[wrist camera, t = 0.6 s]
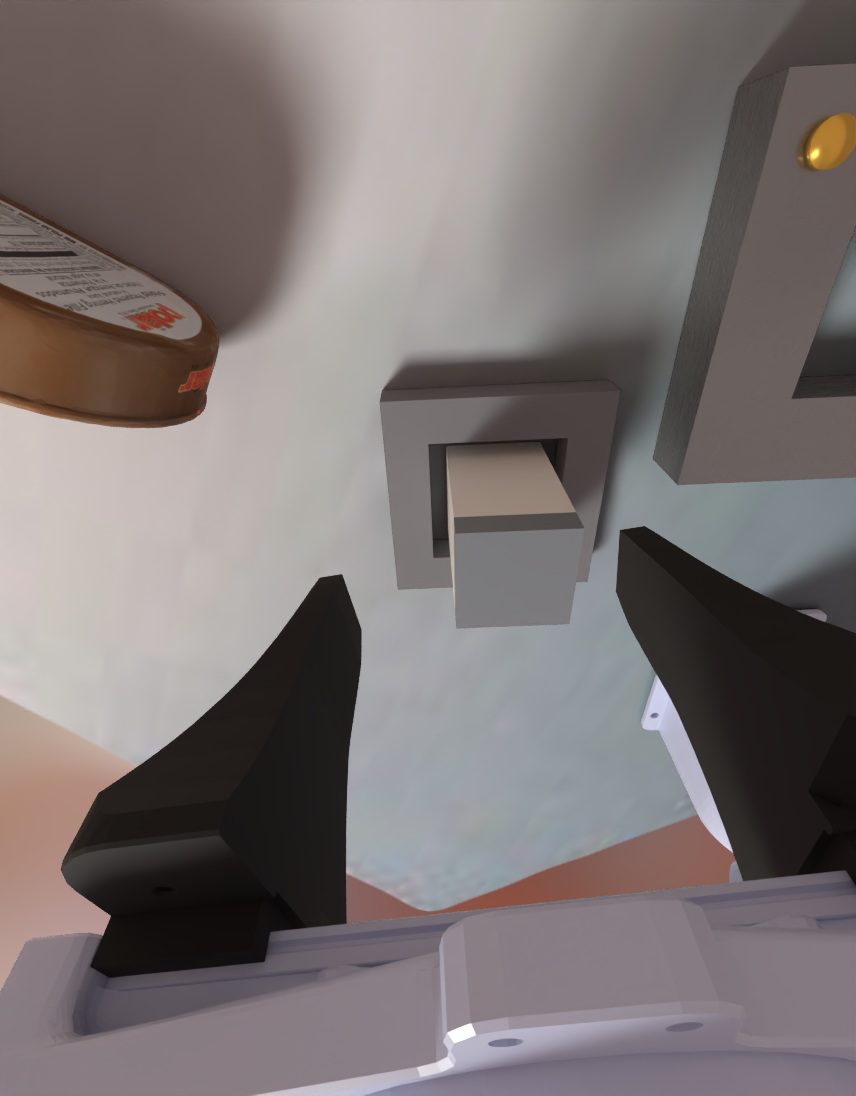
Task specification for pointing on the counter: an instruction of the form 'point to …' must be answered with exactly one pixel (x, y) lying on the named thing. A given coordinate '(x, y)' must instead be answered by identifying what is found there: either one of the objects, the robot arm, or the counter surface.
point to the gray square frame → (481, 416)
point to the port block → (769, 292)
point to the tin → (95, 332)
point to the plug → (510, 536)
